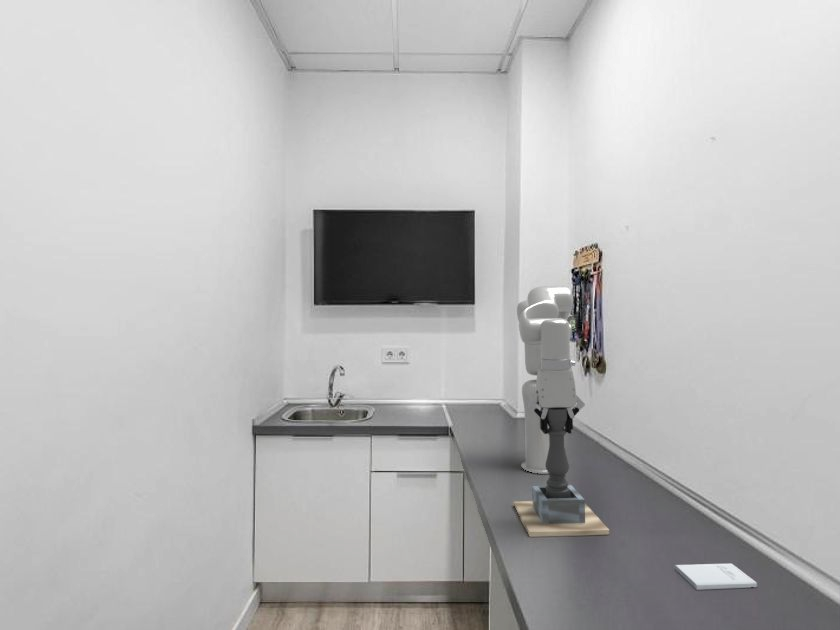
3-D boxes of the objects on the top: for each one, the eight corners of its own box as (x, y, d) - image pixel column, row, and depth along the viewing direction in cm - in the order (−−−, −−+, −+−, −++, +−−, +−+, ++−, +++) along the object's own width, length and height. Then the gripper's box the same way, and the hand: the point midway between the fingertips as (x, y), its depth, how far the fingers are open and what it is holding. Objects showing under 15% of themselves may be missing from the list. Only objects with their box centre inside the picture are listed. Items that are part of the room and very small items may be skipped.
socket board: (513, 505, 145) (513, 480, 145) (582, 504, 146) (581, 479, 146) (529, 536, 125) (529, 508, 125) (609, 534, 126) (608, 506, 126)
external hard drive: (674, 571, 109) (730, 569, 109) (696, 592, 101) (757, 590, 101) (674, 564, 109) (730, 561, 109) (696, 584, 101) (757, 582, 101)
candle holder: (553, 506, 132) (551, 410, 131) (541, 497, 137) (540, 406, 137) (574, 503, 133) (572, 409, 133) (561, 495, 139) (560, 405, 139)
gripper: (582, 363, 139) (583, 428, 139) (520, 364, 139) (521, 430, 139) (592, 366, 131) (593, 435, 132) (526, 367, 131) (528, 436, 131)
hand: (556, 431), depth 135 cm, fingers closed on candle holder, 5 cm apart
